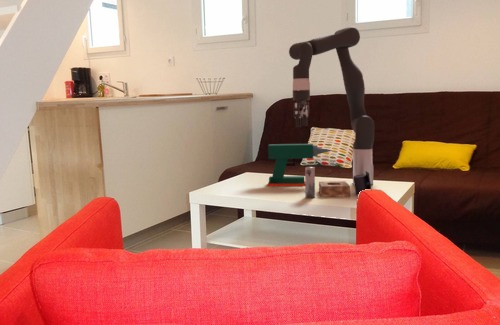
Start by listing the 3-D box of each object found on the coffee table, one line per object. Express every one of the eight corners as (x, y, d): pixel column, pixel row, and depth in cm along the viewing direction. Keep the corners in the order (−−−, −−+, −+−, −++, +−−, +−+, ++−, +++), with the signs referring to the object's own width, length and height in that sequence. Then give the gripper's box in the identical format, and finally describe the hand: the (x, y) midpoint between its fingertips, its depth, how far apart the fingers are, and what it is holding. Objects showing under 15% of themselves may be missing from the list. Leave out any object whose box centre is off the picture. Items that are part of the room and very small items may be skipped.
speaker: (374, 193, 203) (371, 170, 202) (372, 196, 198) (369, 172, 197) (356, 193, 206) (354, 171, 205) (354, 197, 201) (351, 173, 200)
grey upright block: (307, 195, 203) (306, 166, 201) (316, 195, 202) (316, 166, 200) (303, 198, 196) (303, 168, 195) (313, 199, 195) (313, 168, 193)
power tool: (332, 183, 232) (332, 143, 229) (333, 185, 225) (333, 144, 222) (268, 183, 235) (268, 144, 232) (267, 186, 228) (267, 145, 225)
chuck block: (345, 190, 211) (345, 181, 210) (349, 196, 199) (349, 186, 198) (318, 191, 212) (318, 181, 211) (321, 196, 200) (321, 186, 199)
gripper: (298, 89, 211) (298, 125, 213) (287, 89, 198) (287, 127, 200) (314, 89, 208) (314, 125, 210) (304, 88, 195) (304, 127, 197)
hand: (301, 126), depth 205 cm, fingers open, 8 cm apart
